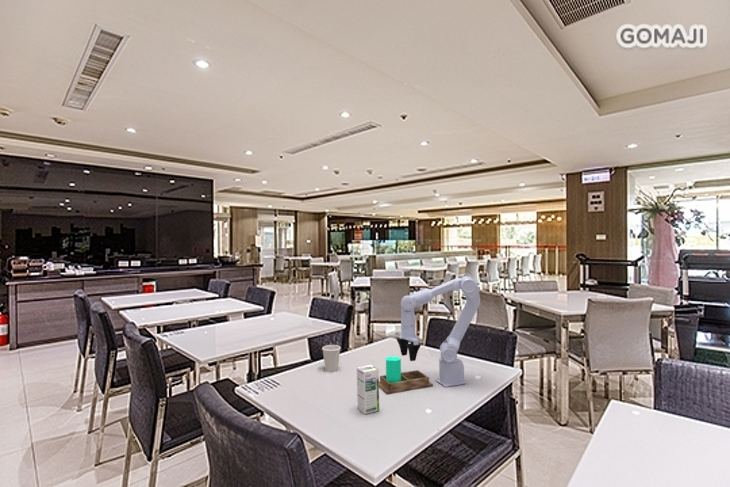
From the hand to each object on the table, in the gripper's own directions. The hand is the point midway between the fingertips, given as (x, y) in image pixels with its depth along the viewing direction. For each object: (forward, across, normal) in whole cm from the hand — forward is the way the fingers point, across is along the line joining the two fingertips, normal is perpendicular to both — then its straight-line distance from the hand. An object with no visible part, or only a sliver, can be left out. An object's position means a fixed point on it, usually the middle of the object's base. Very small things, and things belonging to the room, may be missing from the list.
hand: (408, 357), depth 153 cm
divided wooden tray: (+9, +4, -4) cm, 11 cm away
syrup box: (+10, +18, -25) cm, 32 cm away
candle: (+9, +4, -9) cm, 13 cm away
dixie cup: (+10, -25, -26) cm, 37 cm away
